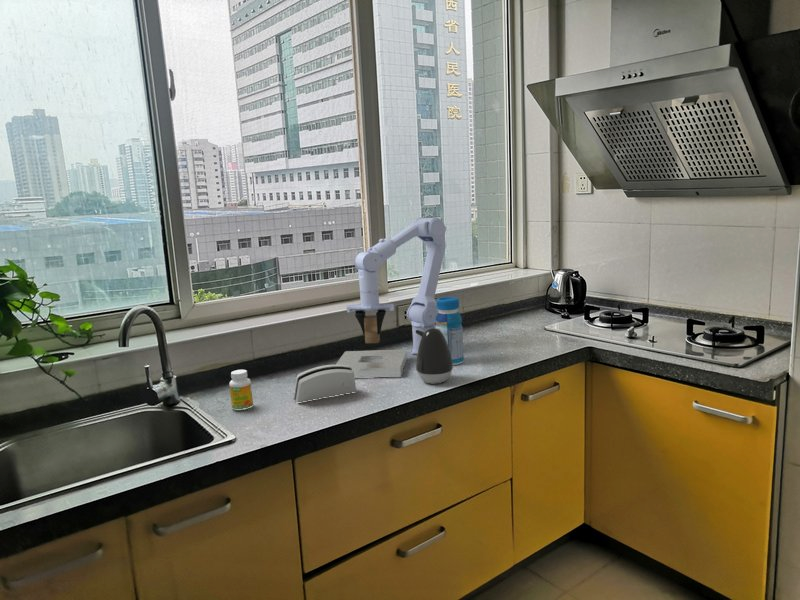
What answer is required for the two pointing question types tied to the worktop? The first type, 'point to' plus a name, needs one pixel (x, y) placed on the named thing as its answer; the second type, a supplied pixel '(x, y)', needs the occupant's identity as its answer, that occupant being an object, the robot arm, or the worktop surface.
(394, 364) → the grey flat square slab
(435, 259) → the robot arm
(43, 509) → the worktop surface
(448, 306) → the beverage bottle
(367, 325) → the wedge peg
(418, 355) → the pump dispenser
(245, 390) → the supplement bottle
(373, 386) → the worktop surface
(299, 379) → the napkin holder
